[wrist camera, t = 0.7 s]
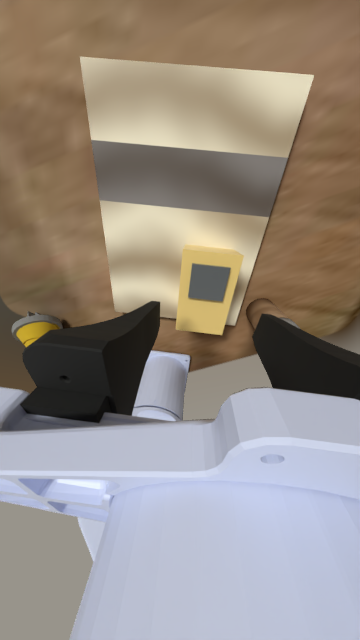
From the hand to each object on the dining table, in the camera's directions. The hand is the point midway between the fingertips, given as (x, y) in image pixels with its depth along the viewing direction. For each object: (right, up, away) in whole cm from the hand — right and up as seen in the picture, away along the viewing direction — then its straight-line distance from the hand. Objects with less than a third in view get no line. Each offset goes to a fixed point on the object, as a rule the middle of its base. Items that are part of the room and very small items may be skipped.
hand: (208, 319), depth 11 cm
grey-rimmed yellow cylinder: (-21, 0, +13) cm, 25 cm away
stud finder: (+1, +4, +7) cm, 8 cm away
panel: (-2, +9, +6) cm, 11 cm away
